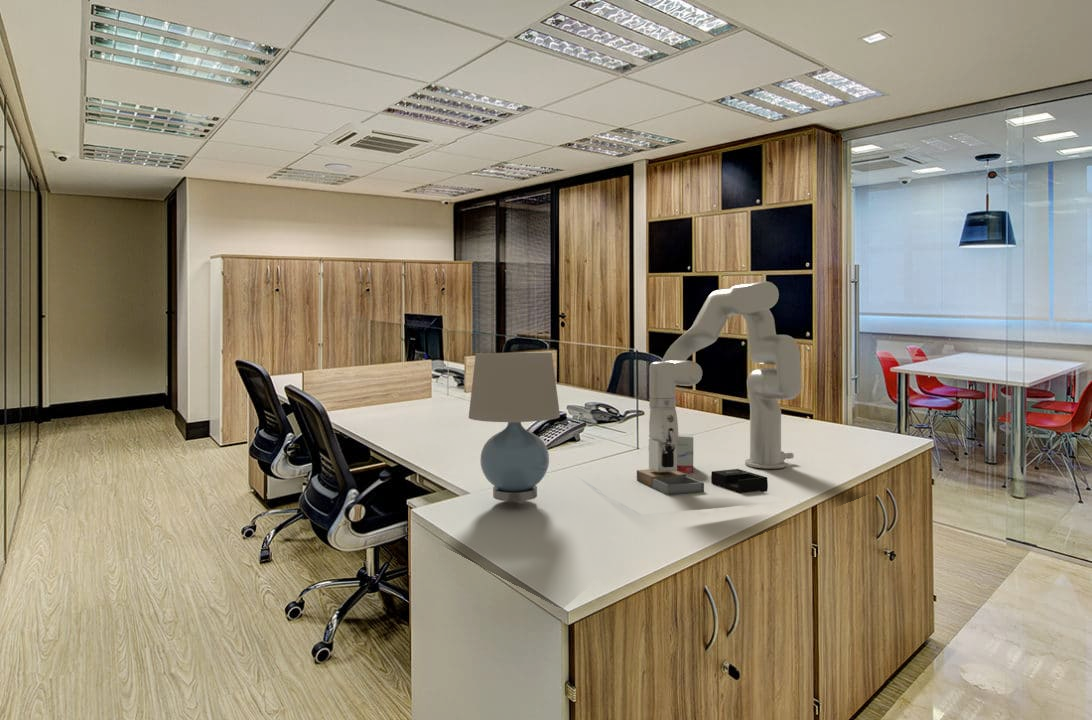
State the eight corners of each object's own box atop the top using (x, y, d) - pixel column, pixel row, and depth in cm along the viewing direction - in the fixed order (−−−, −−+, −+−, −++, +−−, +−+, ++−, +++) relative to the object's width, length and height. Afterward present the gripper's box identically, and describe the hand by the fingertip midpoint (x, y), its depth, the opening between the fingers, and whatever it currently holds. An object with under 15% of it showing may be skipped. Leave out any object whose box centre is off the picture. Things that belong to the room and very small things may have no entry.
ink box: (693, 474, 192) (693, 436, 192) (666, 473, 194) (665, 436, 194) (692, 468, 201) (692, 432, 201) (666, 468, 203) (666, 432, 202)
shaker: (667, 467, 184) (666, 434, 184) (677, 470, 178) (676, 437, 178) (648, 468, 182) (648, 435, 182) (658, 472, 176) (658, 438, 176)
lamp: (527, 512, 149) (526, 353, 148) (450, 500, 162) (448, 353, 161) (577, 492, 170) (576, 352, 169) (504, 482, 183) (503, 352, 182)
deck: (669, 477, 187) (669, 467, 187) (686, 484, 178) (686, 474, 178) (636, 480, 184) (636, 470, 184) (651, 487, 175) (651, 476, 175)
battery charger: (710, 484, 179) (710, 471, 179) (738, 482, 182) (738, 468, 182) (739, 494, 167) (739, 480, 167) (768, 491, 170) (768, 477, 170)
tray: (685, 484, 178) (685, 475, 178) (704, 491, 169) (704, 482, 169) (651, 487, 175) (651, 478, 175) (668, 495, 166) (668, 485, 166)
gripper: (688, 405, 172) (689, 469, 173) (660, 400, 189) (660, 459, 189) (664, 406, 170) (665, 471, 171) (638, 401, 187) (638, 460, 187)
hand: (662, 464), depth 180 cm, fingers closed on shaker, 6 cm apart
